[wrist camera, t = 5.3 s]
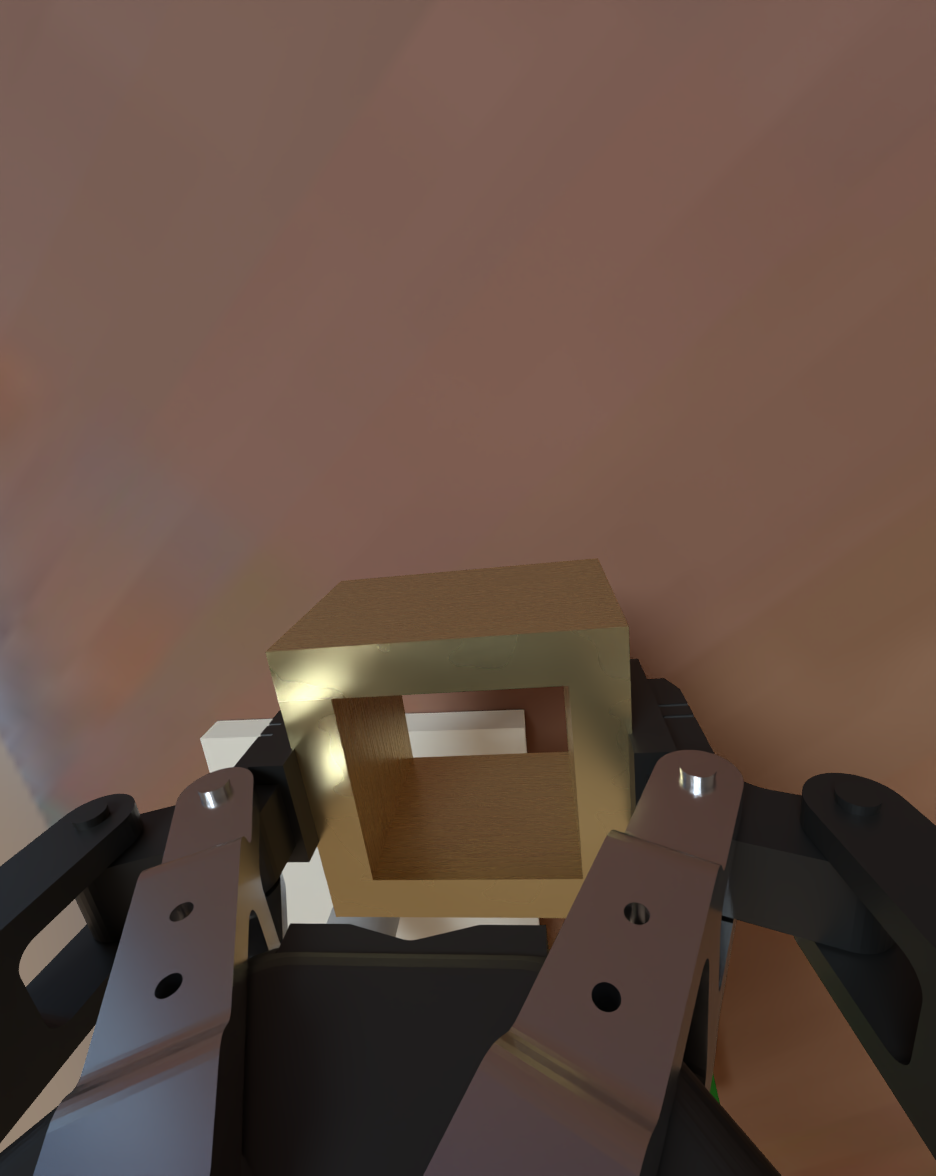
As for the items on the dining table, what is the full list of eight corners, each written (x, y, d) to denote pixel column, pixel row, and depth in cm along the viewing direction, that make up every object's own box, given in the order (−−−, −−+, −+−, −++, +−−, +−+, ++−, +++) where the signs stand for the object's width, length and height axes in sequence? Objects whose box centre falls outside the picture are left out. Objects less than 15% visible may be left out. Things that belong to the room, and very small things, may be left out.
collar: (597, 558, 12) (628, 626, 8) (608, 782, 14) (638, 918, 10) (340, 581, 13) (265, 651, 9) (384, 788, 15) (336, 917, 11)
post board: (524, 709, 19) (528, 904, 12) (541, 951, 23) (553, 1224, 15) (217, 721, 21) (39, 902, 13) (279, 948, 24) (168, 1196, 17)
